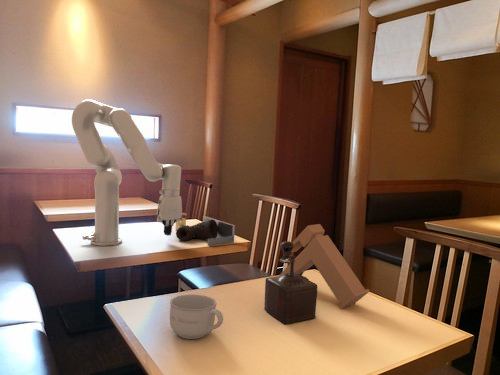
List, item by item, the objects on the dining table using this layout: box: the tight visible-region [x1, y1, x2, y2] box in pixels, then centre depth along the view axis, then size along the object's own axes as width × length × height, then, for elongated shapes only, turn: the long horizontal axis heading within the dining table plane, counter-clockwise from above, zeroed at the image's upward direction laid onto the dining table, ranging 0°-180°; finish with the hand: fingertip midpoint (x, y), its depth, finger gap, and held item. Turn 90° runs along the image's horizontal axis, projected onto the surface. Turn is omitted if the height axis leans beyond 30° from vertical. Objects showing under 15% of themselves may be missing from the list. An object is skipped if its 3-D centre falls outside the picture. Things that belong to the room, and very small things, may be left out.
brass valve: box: [175, 212, 188, 232], centre depth 204 cm, size 6×6×9 cm
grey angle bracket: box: [202, 215, 236, 247], centre depth 190 cm, size 14×24×8 cm, turn 40°
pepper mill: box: [263, 240, 318, 326], centre depth 111 cm, size 16×11×18 cm
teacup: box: [169, 293, 224, 340], centre depth 95 cm, size 14×11×8 cm
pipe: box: [175, 218, 218, 242], centre depth 188 cm, size 10×15×15 cm
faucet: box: [278, 223, 370, 310], centre depth 126 cm, size 7×23×25 cm
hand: (167, 234), depth 178 cm, fingers closed
